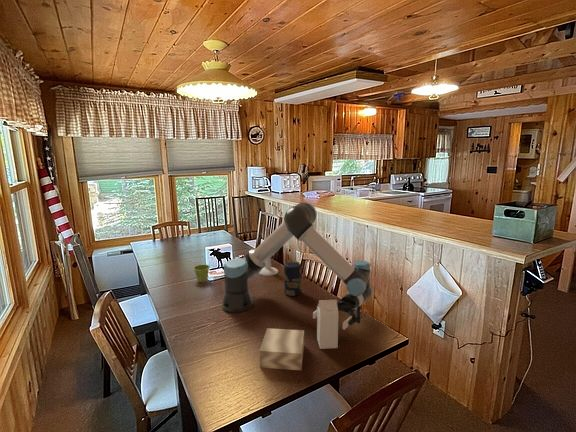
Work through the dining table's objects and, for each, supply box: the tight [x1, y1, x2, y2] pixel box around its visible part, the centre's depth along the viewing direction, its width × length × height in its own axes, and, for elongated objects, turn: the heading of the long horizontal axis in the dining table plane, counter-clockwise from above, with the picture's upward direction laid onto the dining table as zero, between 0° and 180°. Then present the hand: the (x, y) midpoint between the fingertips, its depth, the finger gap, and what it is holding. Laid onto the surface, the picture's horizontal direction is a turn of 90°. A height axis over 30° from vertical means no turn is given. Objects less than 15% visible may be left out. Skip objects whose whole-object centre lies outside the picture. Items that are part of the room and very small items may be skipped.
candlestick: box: [258, 227, 279, 277], centre depth 205 cm, size 13×13×30 cm
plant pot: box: [193, 264, 211, 283], centre depth 193 cm, size 9×9×9 cm
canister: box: [283, 261, 303, 297], centre depth 174 cm, size 10×10×18 cm
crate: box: [259, 327, 305, 371], centre depth 121 cm, size 15×15×7 cm
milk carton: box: [316, 299, 339, 350], centre depth 127 cm, size 7×7×19 cm
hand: (328, 320), depth 127 cm, fingers open, 13 cm apart
